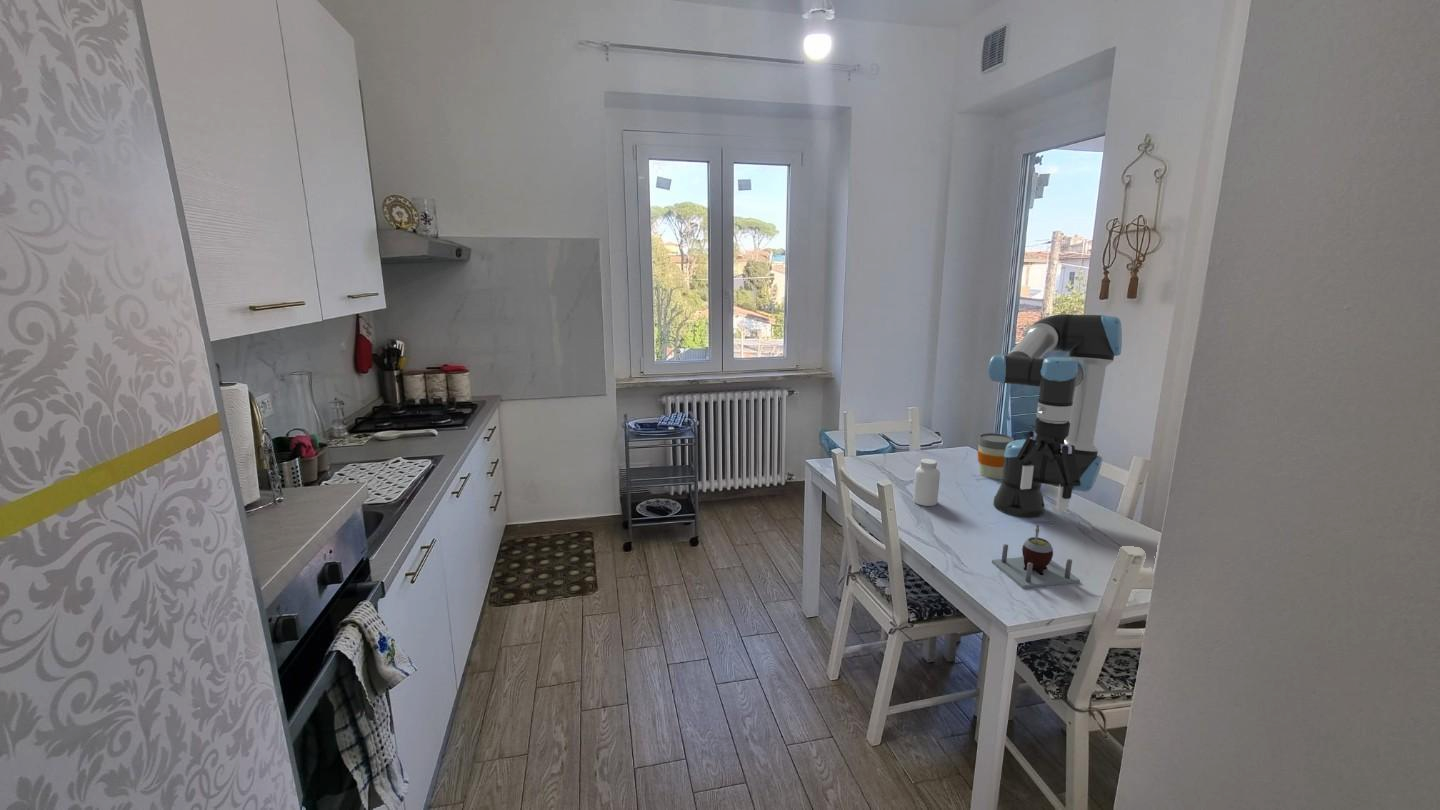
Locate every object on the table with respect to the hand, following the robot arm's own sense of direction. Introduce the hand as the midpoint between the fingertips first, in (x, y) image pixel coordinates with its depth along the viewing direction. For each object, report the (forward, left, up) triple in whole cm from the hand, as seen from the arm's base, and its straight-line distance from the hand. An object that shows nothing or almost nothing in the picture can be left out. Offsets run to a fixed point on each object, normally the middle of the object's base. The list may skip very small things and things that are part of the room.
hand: (1042, 498), depth 148 cm
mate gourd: (0, +1, -20) cm, 20 cm away
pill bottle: (+6, -47, -21) cm, 52 cm away
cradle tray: (0, +1, -21) cm, 21 cm away
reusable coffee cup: (-32, -67, -21) cm, 77 cm away
